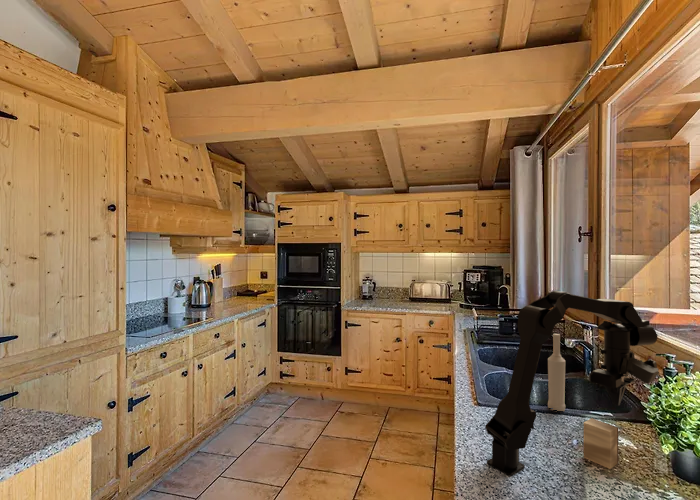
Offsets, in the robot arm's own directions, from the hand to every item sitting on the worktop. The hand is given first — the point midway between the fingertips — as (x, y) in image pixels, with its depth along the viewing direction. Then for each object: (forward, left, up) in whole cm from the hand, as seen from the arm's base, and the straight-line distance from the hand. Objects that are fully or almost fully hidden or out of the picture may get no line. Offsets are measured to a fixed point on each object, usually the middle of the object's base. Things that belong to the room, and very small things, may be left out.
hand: (616, 404), depth 99 cm
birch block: (-10, 0, -12) cm, 15 cm away
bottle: (+12, +22, -12) cm, 28 cm away
